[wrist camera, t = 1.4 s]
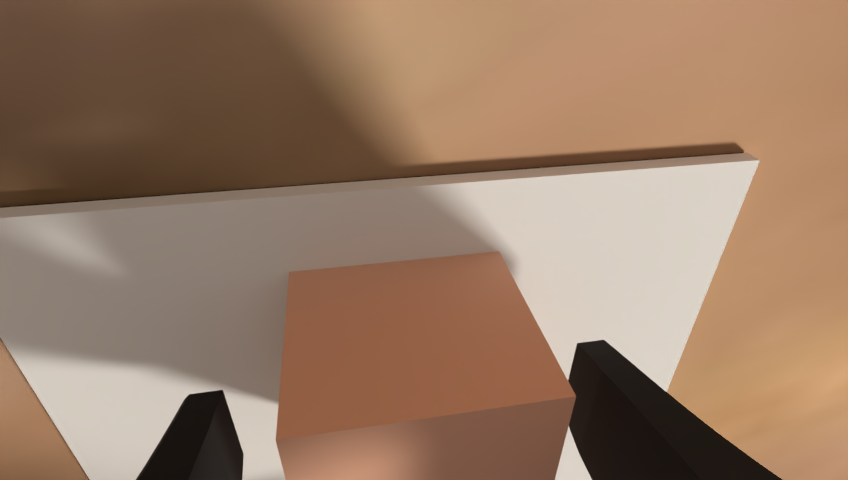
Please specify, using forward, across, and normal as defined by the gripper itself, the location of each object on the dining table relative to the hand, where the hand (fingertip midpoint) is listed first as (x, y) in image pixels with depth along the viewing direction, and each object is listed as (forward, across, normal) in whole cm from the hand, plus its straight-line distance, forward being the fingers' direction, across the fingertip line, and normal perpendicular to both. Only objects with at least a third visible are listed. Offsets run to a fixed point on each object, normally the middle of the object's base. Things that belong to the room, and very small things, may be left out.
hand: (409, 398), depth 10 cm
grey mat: (+2, 0, +6) cm, 6 cm away
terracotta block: (+2, 0, 0) cm, 2 cm away
